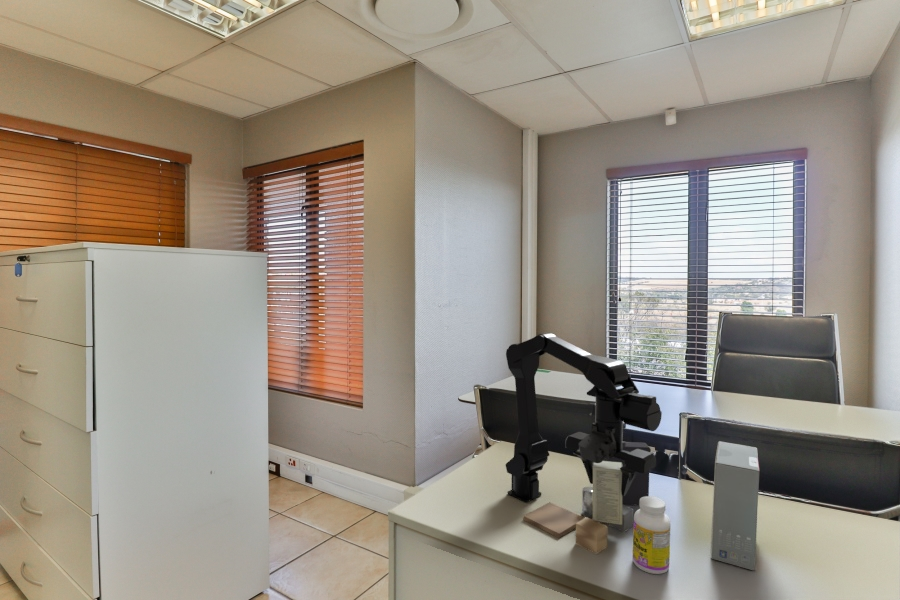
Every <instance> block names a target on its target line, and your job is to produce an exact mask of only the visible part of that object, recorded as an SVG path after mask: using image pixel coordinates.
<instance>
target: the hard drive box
mask: <svg viewBox="0 0 900 600" xmlns="http://www.w3.org/2000/svg"><path fill="white" fill-rule="evenodd" d="M758 453H759V452H758V448H757V447H755V446H749V445H744V444H739V443H731V442H725V441H720V440H719V441H718V442H717V447H716V453H715V459H714V460H715V461H714V476H713V477H714V478H713V479H714V481H713V495H712V497H713V498H712V499H713V501H712V517H711V518H712V519H711V541H710V559H713V560H716V561H720V562H722V563H726V564H728V565H733V566H735V567H740V568H743V569H747V570H751V571H755V569H756V568H755V567H756V555H757V554H756V553H757V532H758V531H757V529H758V528H757V527H758V508H759V507H758V506H759V503H758V502H759V485H760V484H759V483H760V464H759V463H760V462H759V457H758Z"/></svg>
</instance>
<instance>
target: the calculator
mask: <svg viewBox="0 0 900 600" xmlns="http://www.w3.org/2000/svg"><path fill="white" fill-rule="evenodd" d="M624 442H625V447H623V448H622V450H624V451H628V452H631V451H633V450H635V449H641V450H644V451H648V452H651V447H650V446H649V445H648V444H647V443H646V442H635V441H624ZM651 453H652V452H651ZM603 461H612V462H621V463H622V466H624V465H625V460H622V459H619V458H616V457H612V458H611V459H608V458H604V459H603ZM649 491H650V470H649V471H647V472H645V473H639V472H638V473H637V474H636V476H635V477H634V479H633V481H632V483H631V485H630V487H629V489H628V491H627V493H626V495H625V496H622V505H624V506H639V500H640V498H642V497H645V496H649V495H650V492H649Z"/></svg>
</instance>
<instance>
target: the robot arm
mask: <svg viewBox="0 0 900 600" xmlns="http://www.w3.org/2000/svg"><path fill="white" fill-rule="evenodd" d="M546 354H548V355H550V356H552V357H554V358H555V359H558V360H560V361H562V362H563V363H564V364H566V365H569V366H570V367H572V368H574V369H575V370H578V371H579V372H581V373H582V374H583V376H584V377H585V379H586V380H587V381H588V382H589V383H591V384H592V385H593V387H592V388H591V389H590V390H589V389H588V391H587V392H586V395H587V396H590V397H594V398H595V407H594V408H595V410H594V411H595V413H594V414H595V415H594V417H595V419H594V422H592V423H591V427H590V432H589V433H586V432H582V431H576V432H575V433H574V432H573V433H572V434H569V435H568V436H567V437H566V438H565V443H564V444H565V446H564V447H565V449H567V450H570V451H572V452H573V455H576V456H577V457H578V458H579V459H580V460H581V462H582V464H583V467H584V470H585V472H586V475H587V478H588V480H589V484H591V485H593V462H594V463H601V462H602V461H603V459H604V458H608V459H611V458H612V457H616V458H619V459H622V460H625V465H624V466H622V467H621V468H620V470H621V472H622V486H621V492H622V496H625V495H626V493H627V491H628V489H629V487H630V485H631V483H632V481H633V479H634V477H635V476H636V474H637V473H638V472H639V473H645V472H647V471H649V472H650V470H653V469H654V468H655V467H657V457H656V456H655V454H654V453H653V452H648V451H644V450H641V449H635V450H633V451H631V452H628V451H624V450H622V448H623V447H625V442H626V441H623V439H624V438H623V437H624V436H623V435H624V434H623V433H624V429H626V428H627V426H631V427H635V428H638V429H639V428H640V429H643V430H646V431H650V432H654V431H656V430H657V429H658V428H659V426H660V424H661V420H662V414H663V413H662V412H663V411H661V407H660V405H659V404H658V403H657V396H654V395H644V394H640V393H639V392H640V391H639V389H638V387H637V386H636V384H635V382H634V381H633V379H632V378H631V376H630V374H629V371H628V368H627V365H626V364H625V363H624V362H623V361H621V360H618V359H614V358H610V357H606V356H601V355H595V354H592V353H590V352H588V351H586V350H584V349H582V348H581V347H578V346H576V345H574V344H572V343H570V342H568V341H566V340H564V339H562V338H560V337H558V336H557V335H555V334H554V333H551V332H548V333H539V334H537V335H535V336H533V337H532V338H530V339H527V340H525V341H522V342H519V343H513V344H510V345H509V346H508V348H507V349H506V351H505V356H506V362H507V367H508V370H509V371H510V373H511V374H512V376H513V377H514V380H515V381H514V382H515V397H516V409H517V411H516V412H517V421H518V423H517V424H518V435H517V438H516V441H515V443H514V446H513V447H514V448H513V457H512V458H511V459H510V460H509V461H508V462H506V463H505V469H506V473H508V474H509V475H510V476H511V489H510V490H507V495H509V496H512V497H513V498H516V499H517V500H520V501H522V502H524V503H528V502H530V501H532V500H534V499H536V498H539V497H540V496H542V492H541V491H540V480H539V473H538V472H539V471H542V470H543V467H544V465H546V463H547V462H548V459H549V458H548V457H550V453H549V441H548V440H547V439H544V438H543V437H542V436H541V435H540V432H539V421H538V409H537V408H538V407H537V396H536V395H537V394H536V381H535V376H536V373H537V371H538V369H539V367H540V357H542V356H543V355H546ZM619 387H620V388H619Z"/></svg>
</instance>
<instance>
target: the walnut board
mask: <svg viewBox="0 0 900 600" xmlns="http://www.w3.org/2000/svg"><path fill="white" fill-rule="evenodd" d="M522 518H523V521H525V522H527V523H529V524H531V525H532V526H534V527H537V528H538V529H540V530H543V532H546V533H548V534H550V535H552V536H554V537H556V538H558V539H559V538H562V537H563V536H565V535H567V534H568V533H570V532H571V531H573V530H576V523H577V522H579V521H581V520H582V519H584V518H585V517H584V516H583V515H579V514H577V513H575V512H572V511H570V510H568V509H566V508H564V507H562V506H559V505H557V504H554V503H552V502H551V501H549V502H547V503H545V504H543V505H541V506H540V507H537V508H535V509H533V510H531V511H530V512H528V513H526V514H524V515H523V517H522Z"/></svg>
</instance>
